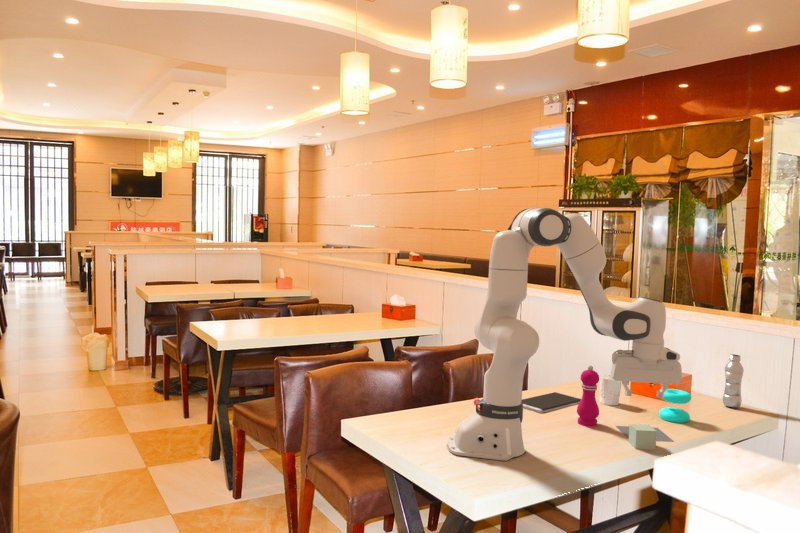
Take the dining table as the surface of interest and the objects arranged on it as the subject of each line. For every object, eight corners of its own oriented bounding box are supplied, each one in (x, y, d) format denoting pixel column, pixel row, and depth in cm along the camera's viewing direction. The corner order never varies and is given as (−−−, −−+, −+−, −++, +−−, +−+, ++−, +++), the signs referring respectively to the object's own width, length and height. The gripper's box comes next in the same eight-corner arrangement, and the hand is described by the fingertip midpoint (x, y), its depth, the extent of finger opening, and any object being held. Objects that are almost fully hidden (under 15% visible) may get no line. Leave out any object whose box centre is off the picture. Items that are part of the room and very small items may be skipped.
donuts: (695, 392, 217) (685, 397, 209) (693, 420, 217) (683, 426, 210) (666, 386, 224) (655, 391, 216) (664, 413, 224) (654, 419, 217)
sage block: (635, 449, 185) (636, 430, 184) (628, 443, 191) (629, 423, 190) (655, 450, 185) (656, 431, 184) (647, 443, 191) (649, 424, 190)
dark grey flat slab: (584, 403, 236) (584, 399, 236) (540, 414, 219) (541, 410, 218) (554, 395, 246) (555, 391, 246) (511, 405, 229) (511, 401, 229)
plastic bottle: (741, 406, 237) (745, 355, 236) (740, 410, 232) (744, 357, 231) (722, 403, 241) (726, 352, 240) (721, 407, 235) (724, 355, 234)
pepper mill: (599, 428, 204) (603, 368, 203) (576, 426, 205) (580, 366, 204) (597, 422, 211) (600, 364, 210) (575, 420, 212) (578, 362, 211)
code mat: (629, 440, 193) (629, 439, 193) (615, 426, 207) (615, 425, 207) (674, 442, 192) (674, 441, 192) (657, 428, 206) (657, 427, 206)
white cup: (623, 406, 232) (624, 380, 231) (602, 405, 232) (603, 379, 231) (616, 400, 239) (617, 375, 239) (595, 399, 239) (597, 374, 239)
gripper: (616, 351, 183) (612, 397, 184) (685, 355, 183) (682, 401, 183) (609, 347, 189) (606, 391, 190) (676, 351, 189) (673, 395, 190)
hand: (643, 396), depth 187 cm, fingers open, 8 cm apart
